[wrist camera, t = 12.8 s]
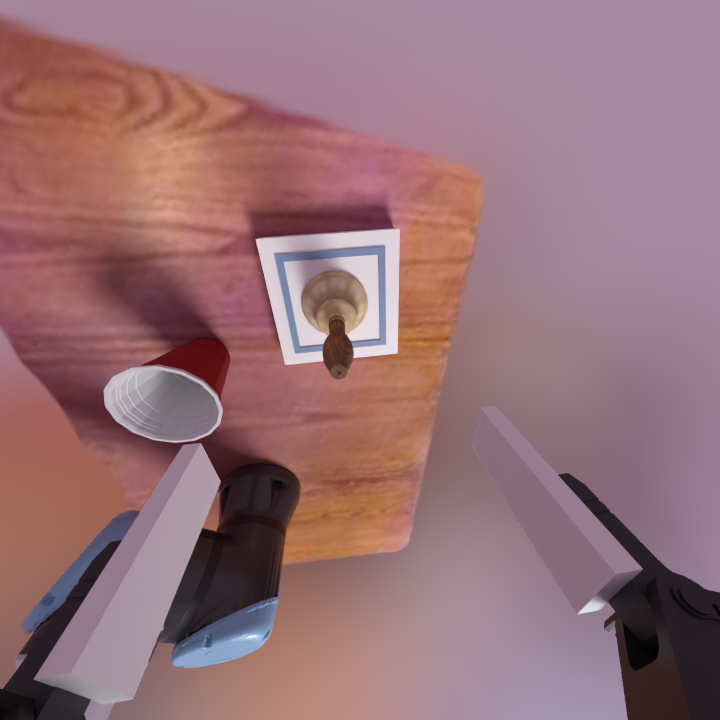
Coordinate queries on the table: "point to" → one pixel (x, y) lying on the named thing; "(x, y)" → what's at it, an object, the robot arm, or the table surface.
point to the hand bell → (335, 315)
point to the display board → (333, 253)
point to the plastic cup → (172, 393)
